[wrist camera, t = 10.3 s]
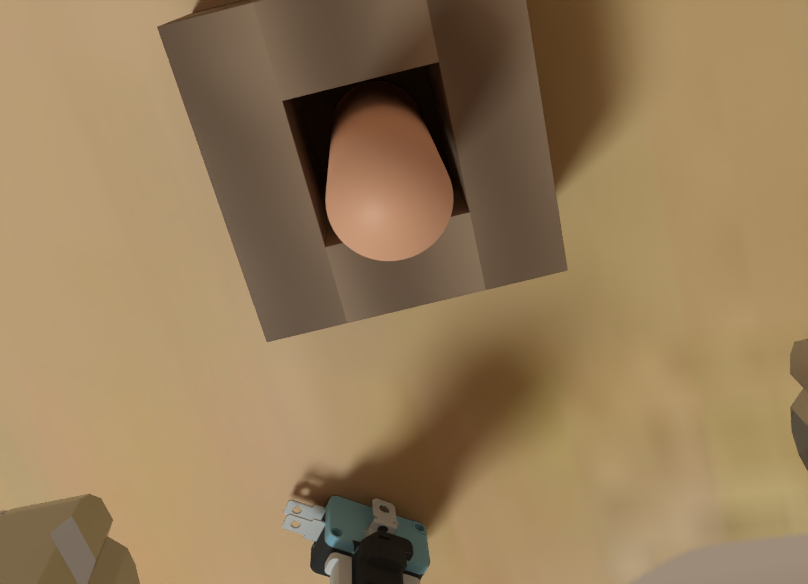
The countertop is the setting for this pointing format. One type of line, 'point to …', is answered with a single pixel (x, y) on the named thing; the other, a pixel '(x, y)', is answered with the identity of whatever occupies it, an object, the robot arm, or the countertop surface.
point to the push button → (361, 542)
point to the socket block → (298, 166)
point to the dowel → (385, 175)
